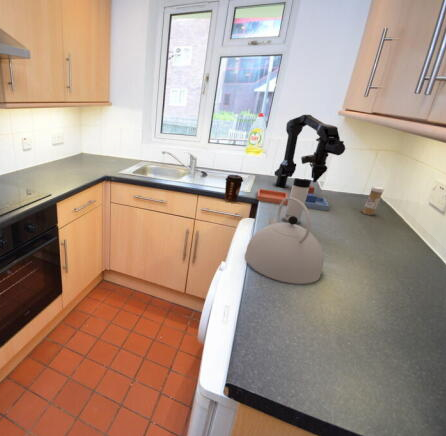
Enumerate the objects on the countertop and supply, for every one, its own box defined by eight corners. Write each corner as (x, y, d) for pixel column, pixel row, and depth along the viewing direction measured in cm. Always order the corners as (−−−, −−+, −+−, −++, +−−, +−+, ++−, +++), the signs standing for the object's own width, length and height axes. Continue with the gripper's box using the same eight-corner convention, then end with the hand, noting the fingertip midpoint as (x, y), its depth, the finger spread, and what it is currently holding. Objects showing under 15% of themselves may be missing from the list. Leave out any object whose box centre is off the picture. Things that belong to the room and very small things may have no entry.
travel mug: (284, 222, 132) (296, 179, 124) (282, 217, 137) (293, 175, 130) (300, 225, 130) (313, 180, 122) (297, 219, 135) (310, 177, 128)
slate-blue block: (303, 200, 159) (306, 192, 157) (313, 202, 157) (316, 194, 156) (304, 203, 155) (307, 195, 153) (314, 204, 154) (317, 196, 152)
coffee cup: (237, 197, 162) (241, 174, 157) (241, 203, 154) (246, 178, 149) (220, 196, 163) (224, 173, 158) (224, 202, 155) (228, 177, 150)
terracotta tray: (257, 192, 171) (258, 188, 170) (286, 197, 166) (287, 192, 165) (256, 200, 159) (257, 195, 158) (287, 204, 154) (288, 200, 153)
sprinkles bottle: (360, 212, 147) (369, 186, 142) (367, 211, 148) (377, 185, 142) (368, 215, 143) (378, 188, 137) (376, 215, 143) (387, 188, 138)
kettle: (233, 243, 112) (245, 186, 103) (294, 245, 112) (310, 188, 103) (260, 282, 89) (278, 212, 80) (336, 285, 89) (363, 215, 80)
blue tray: (292, 197, 165) (293, 193, 164) (323, 201, 160) (324, 197, 159) (294, 205, 153) (295, 201, 152) (327, 210, 148) (329, 205, 147)
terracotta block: (302, 192, 175) (305, 185, 173) (311, 193, 173) (313, 186, 171) (303, 194, 171) (305, 187, 169) (312, 195, 169) (314, 188, 167)
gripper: (303, 146, 165) (295, 173, 171) (305, 152, 149) (297, 182, 156) (326, 148, 160) (317, 176, 167) (331, 155, 145) (321, 185, 152)
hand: (313, 180), depth 160 cm, fingers open, 9 cm apart
